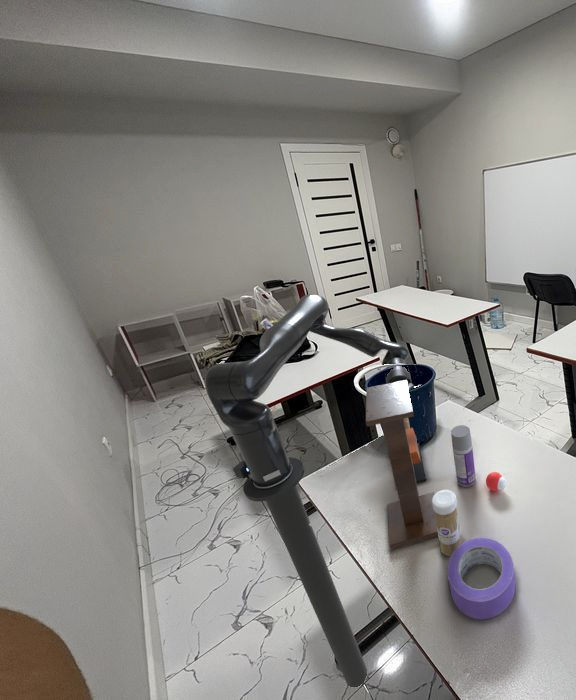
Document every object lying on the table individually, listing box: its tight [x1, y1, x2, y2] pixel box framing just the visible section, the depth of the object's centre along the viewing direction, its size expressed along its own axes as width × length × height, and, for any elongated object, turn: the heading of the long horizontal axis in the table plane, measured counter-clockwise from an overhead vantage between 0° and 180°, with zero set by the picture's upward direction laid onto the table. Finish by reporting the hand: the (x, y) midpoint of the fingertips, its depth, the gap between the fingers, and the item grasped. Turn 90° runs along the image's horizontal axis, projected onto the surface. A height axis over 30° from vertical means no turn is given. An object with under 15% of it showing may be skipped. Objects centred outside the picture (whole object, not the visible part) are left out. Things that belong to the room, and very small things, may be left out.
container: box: [450, 424, 477, 488], centre depth 85 cm, size 5×5×15 cm
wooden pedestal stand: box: [365, 380, 439, 551], centre depth 72 cm, size 12×11×32 cm
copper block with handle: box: [404, 418, 421, 464], centre depth 90 cm, size 23×4×4 cm, turn 14°
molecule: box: [485, 471, 507, 492], centre depth 84 cm, size 5×5×4 cm
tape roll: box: [447, 536, 516, 620], centre depth 64 cm, size 12×12×5 cm
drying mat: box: [413, 442, 427, 484], centre depth 96 cm, size 16×7×1 cm, turn 14°
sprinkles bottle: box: [432, 489, 463, 557], centre depth 70 cm, size 5×5×14 cm
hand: (403, 410), depth 94 cm, fingers closed on copper block with handle, 2 cm apart
